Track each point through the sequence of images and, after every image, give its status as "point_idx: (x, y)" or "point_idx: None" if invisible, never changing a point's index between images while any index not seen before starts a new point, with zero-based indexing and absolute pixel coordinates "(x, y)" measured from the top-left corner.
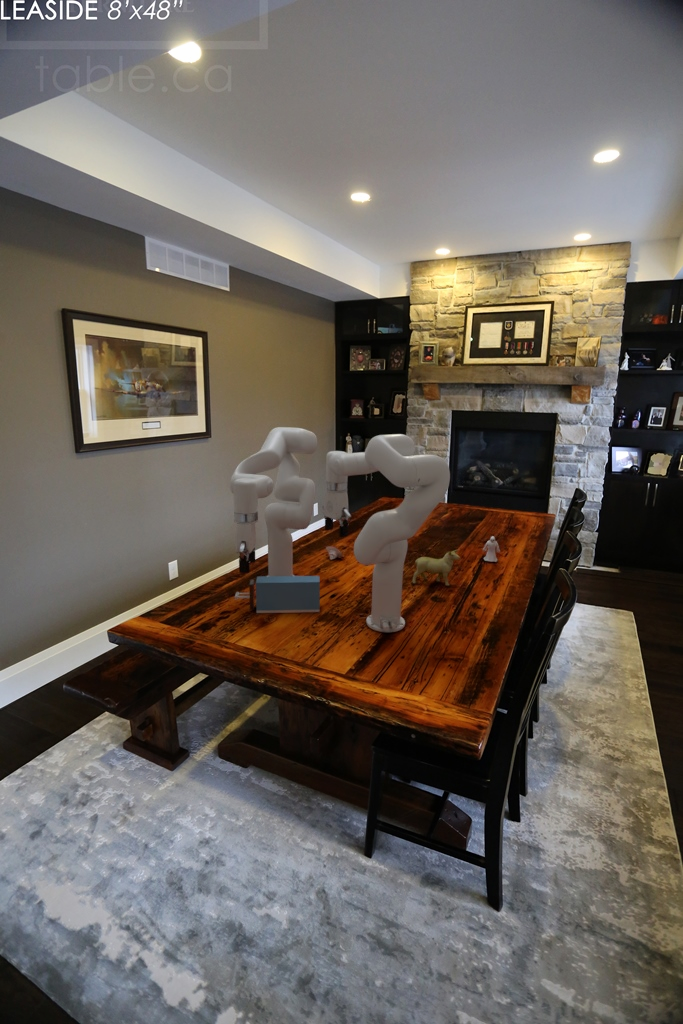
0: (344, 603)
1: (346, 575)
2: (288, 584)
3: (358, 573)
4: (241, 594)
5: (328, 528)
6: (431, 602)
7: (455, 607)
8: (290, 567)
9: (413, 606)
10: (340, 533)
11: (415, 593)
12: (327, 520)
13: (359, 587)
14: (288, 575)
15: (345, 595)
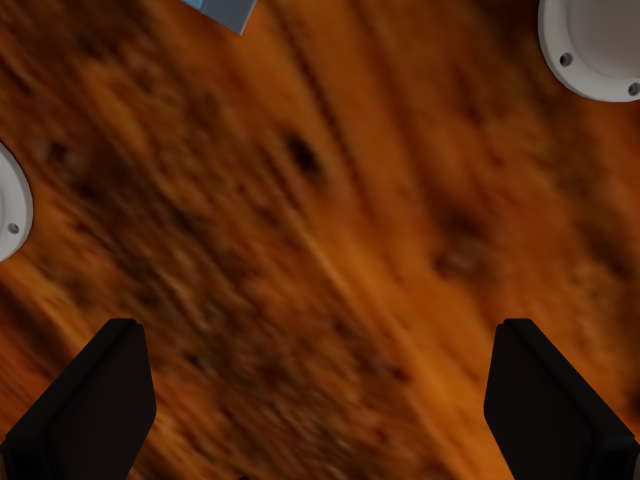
0: (204, 157)
1: (470, 332)
2: None
3: (456, 383)
4: None
5: (500, 366)
6: None
7: None
8: (626, 28)
9: None
10: (89, 350)
11: (170, 438)
12: (579, 456)
13: (324, 306)
14: (591, 14)
15: (280, 209)
